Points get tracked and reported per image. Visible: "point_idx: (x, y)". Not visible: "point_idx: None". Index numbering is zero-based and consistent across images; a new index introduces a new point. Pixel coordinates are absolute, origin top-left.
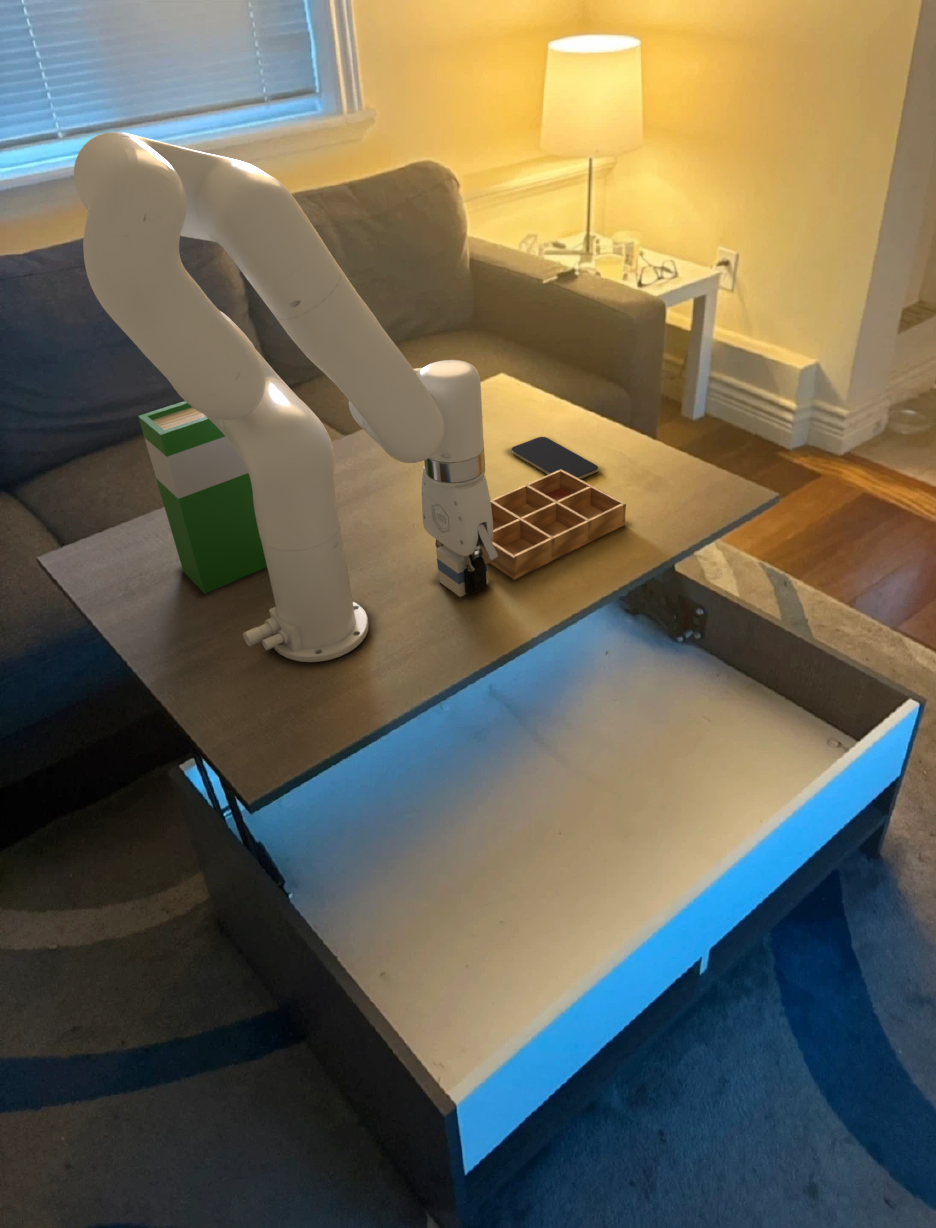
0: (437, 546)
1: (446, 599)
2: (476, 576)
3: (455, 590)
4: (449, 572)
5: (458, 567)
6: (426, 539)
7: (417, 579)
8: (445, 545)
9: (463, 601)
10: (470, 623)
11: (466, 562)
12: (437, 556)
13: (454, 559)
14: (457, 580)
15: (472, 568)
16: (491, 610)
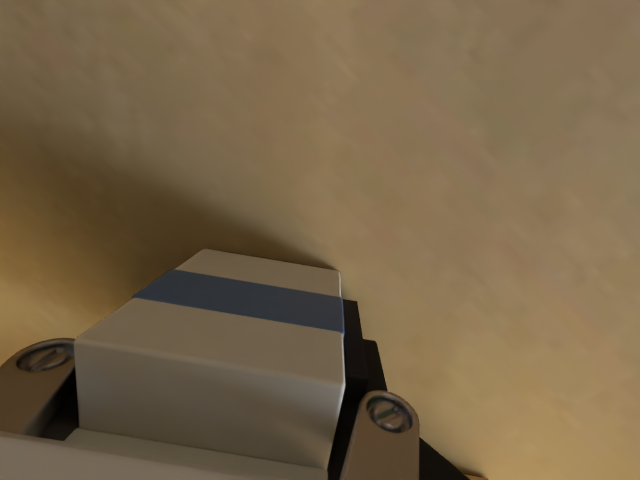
0: (402, 410)
1: (233, 206)
2: None
3: (223, 257)
4: (230, 293)
5: (98, 322)
6: (572, 428)
7: (425, 230)
8: (81, 449)
9: (176, 238)
10: (45, 152)
11: (46, 381)
12: (334, 341)
13: (125, 360)
14: (169, 276)
15: (12, 361)
16: (65, 261)
